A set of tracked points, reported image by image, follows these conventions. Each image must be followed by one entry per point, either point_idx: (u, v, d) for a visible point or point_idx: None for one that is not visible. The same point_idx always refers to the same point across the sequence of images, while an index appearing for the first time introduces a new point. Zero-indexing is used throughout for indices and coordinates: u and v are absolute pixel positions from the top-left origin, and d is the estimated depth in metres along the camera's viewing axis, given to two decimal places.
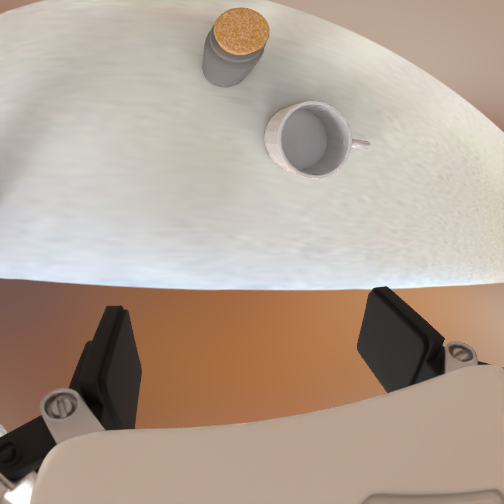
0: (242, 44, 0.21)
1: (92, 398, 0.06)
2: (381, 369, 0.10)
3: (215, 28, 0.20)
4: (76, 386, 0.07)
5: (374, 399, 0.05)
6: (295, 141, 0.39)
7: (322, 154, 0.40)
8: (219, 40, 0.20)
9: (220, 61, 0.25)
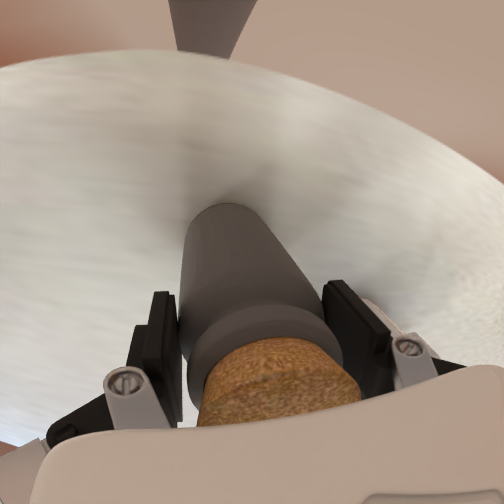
0: None
1: (154, 375, 0.07)
2: None
3: None
4: (133, 366, 0.08)
5: (374, 399, 0.05)
6: None
7: None
8: None
9: None
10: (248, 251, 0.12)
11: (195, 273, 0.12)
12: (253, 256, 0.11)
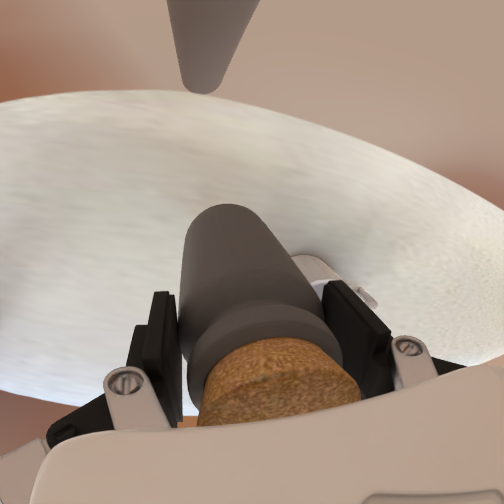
0: None
1: (154, 375, 0.07)
2: None
3: None
4: (133, 366, 0.08)
5: (374, 399, 0.05)
6: None
7: None
8: None
9: None
10: (248, 251, 0.12)
11: (195, 273, 0.12)
12: (253, 256, 0.11)
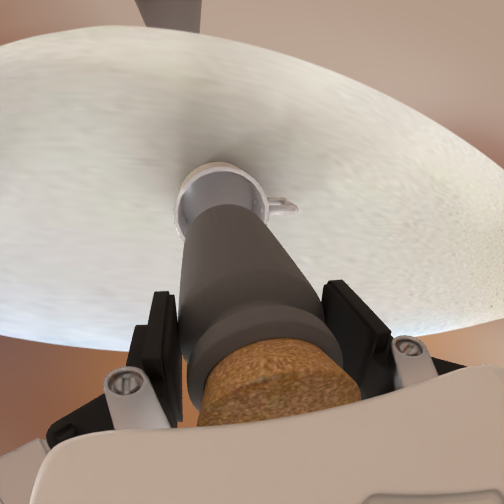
0: None
1: (154, 375, 0.07)
2: None
3: None
4: (133, 366, 0.08)
5: (374, 399, 0.05)
6: (213, 204, 0.35)
7: None
8: None
9: None
10: (248, 252, 0.12)
11: (195, 274, 0.12)
12: (253, 257, 0.11)
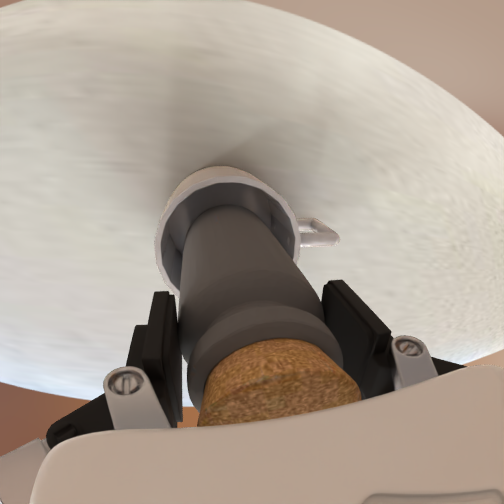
0: None
1: (154, 375, 0.07)
2: None
3: None
4: (133, 366, 0.08)
5: (374, 399, 0.05)
6: None
7: None
8: None
9: None
10: (248, 252, 0.12)
11: (195, 274, 0.12)
12: (253, 257, 0.11)
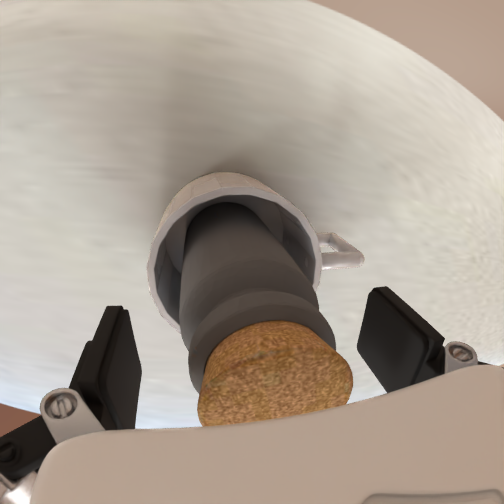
0: None
1: (92, 398, 0.06)
2: (381, 369, 0.10)
3: (202, 416, 0.08)
4: (76, 386, 0.07)
5: (374, 399, 0.05)
6: None
7: None
8: None
9: None
10: (246, 244, 0.12)
11: (196, 265, 0.13)
12: (250, 248, 0.12)
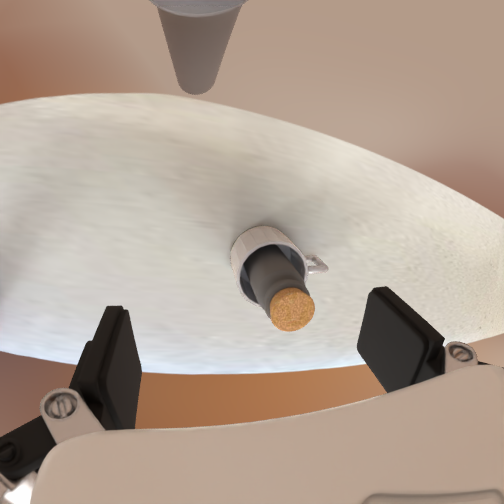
0: (292, 325, 0.31)
1: (92, 398, 0.06)
2: (381, 369, 0.10)
3: (272, 314, 0.30)
4: (76, 386, 0.07)
5: (374, 399, 0.05)
6: None
7: None
8: (274, 324, 0.31)
9: None
10: (280, 264, 0.35)
11: (261, 271, 0.35)
12: (281, 265, 0.35)
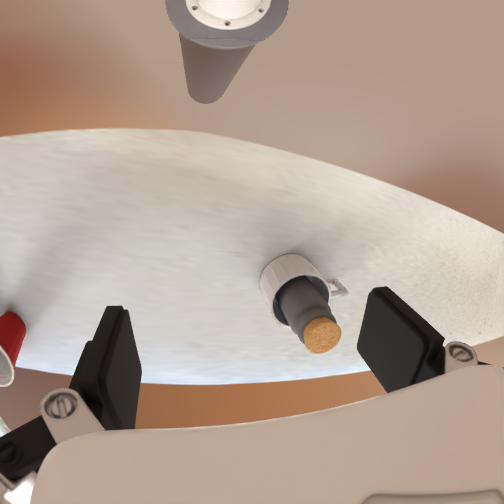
0: (322, 348, 0.35)
1: (92, 398, 0.06)
2: (381, 369, 0.10)
3: (306, 341, 0.35)
4: (76, 386, 0.07)
5: (374, 399, 0.05)
6: None
7: None
8: (307, 348, 0.35)
9: None
10: (309, 294, 0.39)
11: (294, 301, 0.39)
12: (311, 296, 0.39)
